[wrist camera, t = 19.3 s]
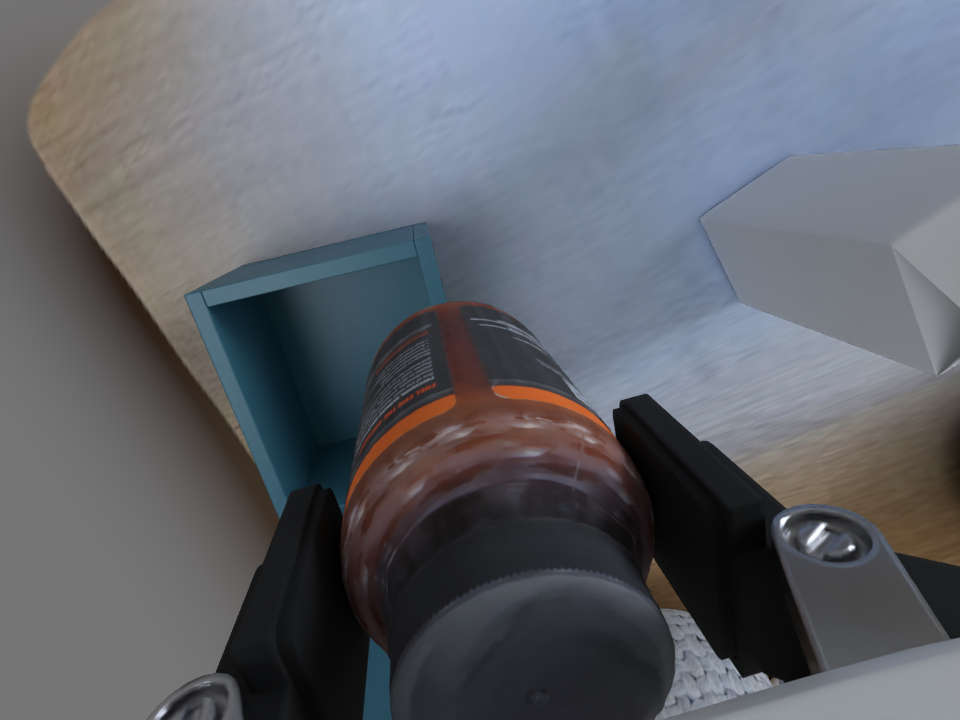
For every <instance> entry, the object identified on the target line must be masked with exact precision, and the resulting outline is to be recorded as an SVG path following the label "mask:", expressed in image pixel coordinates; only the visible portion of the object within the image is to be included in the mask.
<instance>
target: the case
mask: <svg viewBox="0 0 960 720" xmlns="http://www.w3.org/2000/svg"><path fill="white" fill-rule="evenodd" d="M184 297H185V299H186V301H187V304H188V306H189V308H190V311H191V313H192V315H193V318H194V320H195V322H196V325H197V327H198V329H199V332H200V334H201V336H202V339H203V341H204V343H205V346H206V348H207V350H208V353H209V355H210V357H211V360H212V362H213V364H214V367H215V369H216V371H217V374H218V376H219V378H220V381H221V383H222V385H223V388H224V390H225V392H226V395H227V397H228V399H229V402H230V404H231V406H232V409H233V411H234V414H235V416H236V418H237V421H238V423H239V425H240V428H241V430H242V432H243V435H244V437H245V439H246V442H247V444H248V446H249V449H250V451H251V453H252V456H253V458H254V460H255V463H256V465H257V467H258V470H259V472H260V474H261V477H262V479H263V481H264V484H265V486H266V488H267V490H268V493H269V495H270V498H271V500H272V502H273V505H274V507H275V509H276V512H277V514H278V516H279V519H280V518H281V515H282V512H283V510H284V507H285V505H286V502H287V499H288V497H289V494H290V492H291V491H293V490H296V489H300V488H304V487H307V486H311V485H314V484H318V483H319V484H320V485H321V486H322V487H323V489H326V488H329V487H330V488H331V489H332V490H333V492H334V494H335V497H336V499H337V502H338V505H339V507H340V510H341V512H342V515H344V508H345V501H346V491H347V487H348V484H349V479H350V473H351V467H352V464H353V458H354V451H355V445H356V439H357V435H358V429H359V424H360V418H361V413H362V407H363V400H364V395H365V391H366V384H367V378H368V374H369V371H370V368H371V366H372V363H373V360H374V357H375V355H376V353H377V351H378V349H379V348H380V346H381V345H382V343H383V342H384V340H385V339H386V338H387V336H388V335H389V334H390V333H391V332H392V331H393V330H394V329H395V328H396V327H397V326H398V325H399V324H400V323H401V322H403V321H404V320H405V319H407V318H408V317H410V316H411V315H413V314H415V313H416V312H418V311H420V310H422V309H425V308H427V307H430V306H434V305H438V304H443V303H447V302H446V298H445V294H444V290H443V286H442V282H441V278H440V274H439V270H438V266H437V262H436V258H435V254H434V250H433V246H432V242H431V238H430V235H429V232H428V229H427V227H426V224H425V222H423V223H419V224H414V225H410V226H406V227H402V228H398V229H393V230H389V231H385V232H381V233H377V234H372V235H368V236H364V237H360V238H356V239H351V240H347V241H343V242H339V243H335V244H331V245H326V246H322V247H318V248H314V249H310V250H305V251H301V252H297V253H293V254H289V255H284V256H280V257H276V258H272V259H268V260H263V261H259V262H255V263H251V264H247V265H242V266H240V267H239V268H236V269H235V270H233V271H231V272H229V273H227V274H225V275H223V276H221V277H219V278H217V279H215V280H213V281H211V282H209V283H207V284H205V285H203V286H201V287H199V288H197V289H195V290H193V291H191V292H189V293H187V294H185V295H184Z"/></svg>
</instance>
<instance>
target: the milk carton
mask: <svg viewBox="0 0 960 720" xmlns="http://www.w3.org/2000/svg"><path fill="white" fill-rule="evenodd" d="M700 221H701V223H702V225H703V227H704V230H705V232H706V234H707V236H708V238H709V240H710V242H711V244H712V246H713V248H714V250H715V252H716V254H717V256H718V258H719V260H720V262H721V264H722V267H723V269H724V271H725V273H726V275H727V277H728V279H729V281H730V283H731V285H732V287H733V289H734V291H735V293H736V295H737V297H738V299H739V301H740V303H742V304H745V305H747V306H750V307H753V308H755V309H758V310H761V311H763V312H766V313H769V314H771V315H774V316H777V317H779V318H782V319H785V320H787V321H790V322H793V323H795V324H798V325H801V326H804V327H806V328H809V329H812V330H814V331H817V332H820V333H822V334H825V335H828V336H830V337H833V338H836V339H838V340H841V341H844V342H846V343H849V344H852V345H854V346H857V347H860V348H862V349H865V350H868V351H870V352H873V353H876V354H878V355H881V356H884V357H886V358H889V359H892V360H894V361H897V362H900V363H903V364H905V365H908V366H911V367H913V368H916V369H919V370H921V371H924V372H927V373H929V374H932V375H935V376H936V377H938V376H940V375H941V374H943V373H945V372H946V371H948V370H950V369H951V368H953V367H954V366H956V365H958V364H959V363H960V145H946V146H930V147H914V148H899V149H883V150H867V151H852V152H836V153H821V154H805V155H792V156H789V157H787V158H786V159H784V160H783V161H781V162H780V163H778V164H777V165H775V166H774V167H772V168H771V169H769V170H768V171H767V172H765V173H764V174H762V175H761V176H759V177H758V178H756V179H755V180H753V181H752V182H750V183H749V184H747V185H746V186H745V187H743V188H742V189H740V190H739V191H737V192H736V193H734V194H733V195H731V196H730V197H728V198H727V199H726V200H724V201H723V202H721V203H720V204H718V205H717V206H715V207H714V208H712V209H711V210H709V211H708V212H707V213H705V214H704V215H702V216H701V217H700Z"/></svg>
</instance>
